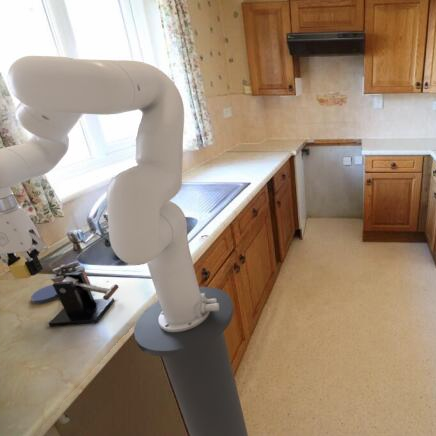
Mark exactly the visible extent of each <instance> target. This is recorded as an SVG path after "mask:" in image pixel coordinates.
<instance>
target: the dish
mask: <svg viewBox="0 0 436 436" xmlns="http://www.w3.org/2000/svg"><path fill="white" fill-rule="evenodd" d="M30 299H31V301H32V303H33V304H37V305H39V304H40V305H41V304H45V303H50V302H52V301H55V300H56V299H59V297H58V295H57V293H56V291H55V289H54V287H53V284H50V285H46V286H44V287H41V288H39V289H37V290H36V291H35V292H33V293H32V295H31V296H30Z"/></svg>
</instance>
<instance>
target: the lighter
mask: <svg viewBox="0 0 436 436" xmlns="http://www.w3.org/2000/svg"><path fill="white" fill-rule="evenodd" d="M52 272H53V273H54V274H53V275H51V276H50V281H51V282H52V283H53V284H54V283H55V282H62V281H63V280H64V277H63V275H64V274H65V273H78V272H82V273H83V275H84V278H85V280H86V282H87V284H88V285H92V284H91V282H90V279H89V278H88V275H87V273H86V269H85V267H84V266H80V261H78V260H76V261H73V262H70V263H68V264H66V263H64V264H60V266H58V267H55V268H53V269H52Z"/></svg>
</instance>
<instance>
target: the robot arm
mask: <svg viewBox="0 0 436 436" xmlns="http://www.w3.org/2000/svg"><path fill="white" fill-rule="evenodd" d="M7 83H8V87H9V89H10V91H11V93H12V94H13V96H14V97H15V98H16V99H17V100H18V101H19V103H18V104H17V106H16V107H15V111H14V116H15V119H16V121H17V122H18V123H19V125H20V126H21V127H22V128H23V129H24V130H26V132H28V133H30V135H29V137H28V138H27V139H26V141H24V142H23V143H20V144H14V145H11V146H6V147H2V148H0V260H1V261H2V263H4V264H7V266H8V267H9V266H10V265H12V264H13V263H15V262H16V261H18V260H19V259H20V258H21V256H17V254H18V253H21V255H22V257H24V258H25V259H26V262H25V264H26V266H27V268H28V270H29V272H30V274H31V275H32V276H36V275H37V274H39V273H40V272H41V271H42V270H43V265H42V263H41V261H40V259H39V257H38V256H40V253H41V252H42V251H43V250H45V249H46V248H47V247H48V244H47V243H45V241H43V239H41V236H40V234H39V232H38V229H37V227H36V226H35V224H34V221H32V219H31V217H30V216H29V214H28V213H27V212H26V210H25V208H23V207H22V206H20V204H19V203H18V201H17V199H16V197H15V195H14V192H13V189H12V188H11V187H13V186H15V185H19V184H22V183H24V182H26V181H29V180H31V179H35V178H38V177H40V176H44V175H45V174H48V173H49V172H51V171H52V170H53V169H54V168H56V166H57V165H58V164H59V163H60V162H61V160H62V159H63V158H64V157H65V156H66V154H67V153H68V150H69V147H70V145H69V143H70V138H69V136H68V135H69V133H70V132H71V131H72V129H73V128H74V127H75V126H76V124H77V123H78V122H79V121H80V120H81V118H82V117H83V116H84V115H98V116H99V115H104V116H105V115H107V116H108V115H109V116H110V115H118V114H122V113H123V114H124V113H128V112H133V111H140V118H139V121H138V123H137V127H136V132H135V158H134V162H133V163H132V164H131V165H129V166H127V167H124V168H122V169H121V170H119V171H118V172H116V173H115V174H114V175H113V177H111V179H110V181H109V183H108V185H107V189H106V211H107V213H106V214H107V225H108V239H109V243H110V246H111V249H112V251H113V252H114V254H115V255H116V256H117V257H118V259H120V261H122V262H124V263H127V264H128V265H133V266H140V265H141V266H142V265H144V264H147V268H148V272H149V275H150V278H151V281H152V283H153V286H154V291H155V293H156V296H157V298H158V300H159V302H160V305H161V308H162V312H161V314H160V316H159V319H158V321H159V325H160V327H161V328H162V329H163V330H165V331H168V332H182V331H186V330H189V329H191V328H194V327H196V326H197V325H199V324H200V323H202V322H203V321H204V320H205V319H206V318H207V317H208V315H209V313H210V311H219V303H217V299H216V298H214V299H207V298H206V297H205V293H200V289H199V287H200V286H199V285H200V284H199V282H198V278H197V273H196V270H195V266H194V263H193V259H192V258H193V257H192V254H191V250H190V245H189V238H188V237H189V236H188V226H187V219H186V216H185V213H184V211H183V210H182V208H181V207H180V206H179V205H178V204H177V203H175V202H173V201H172V200H173V199H174V198H175V197H176V196H177V195H178V194H179V192H180V191H181V188H182V185H183V161H184V159H183V157H184V131H185V130H184V129H185V107H184V101H183V97H182V95H181V93H180V91H179V89H178V87H177V86H176V84H175V83H174V81H173V80H172V79H171V78H170V77H169V76H168V75H167V74H166V73H165V72H164V71H162V70H161V69H160V68H158V67H156V66H154V65H152V64H149V63H146V62H142V61H138V60H127V59H123V60H116V59H113V60H112V59H88V58H87V59H84V58H73V57H68V56H51V55H50V56H49V55H26V56H22V57H20V58H18V59H16V60H15V61H13V63H12V64H11V65H10V67H9V68H8V71H7ZM12 276H13V277H14V275H13V274H12ZM32 276H31V277H32Z"/></svg>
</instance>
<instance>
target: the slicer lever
mask: <svg viewBox="0 0 436 436" xmlns="http://www.w3.org/2000/svg"><path fill="white" fill-rule="evenodd" d="M67 281H73V283H74V285H75V288H79V289H84V290H89V291H91V292H94V293H100V294H104V295H103V296H102V299H104V300H108V299H109V298H112V296H113V295H114V293H116V291H118V289H119V285H118V284H113V285H112V286H111V287H110V288H107V287H102V286H96V285H92V284H91V285H88V284H83V283H79V279H76V278H71V277H66V278H65V279H64V280H63V281H62V282H67Z"/></svg>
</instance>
